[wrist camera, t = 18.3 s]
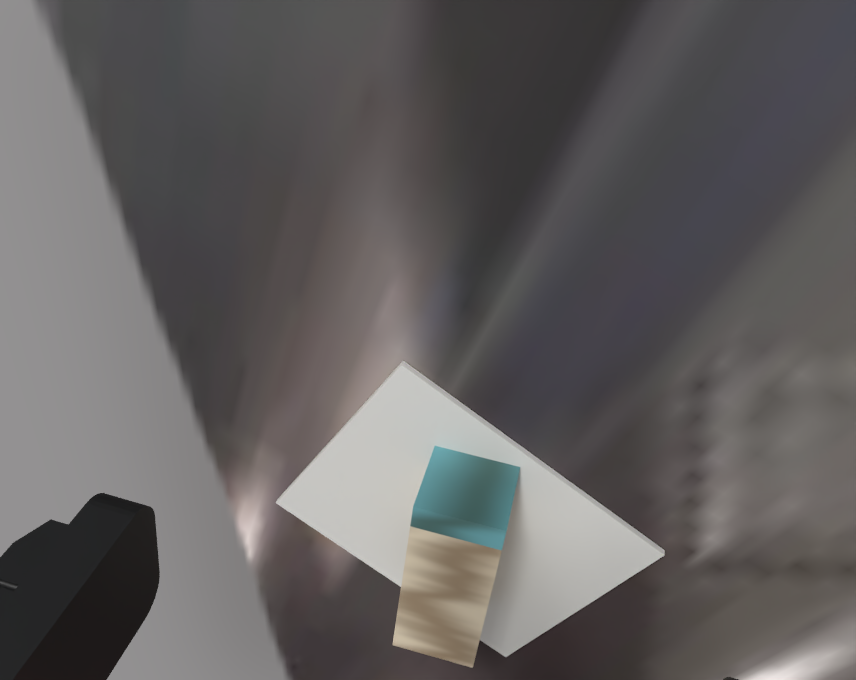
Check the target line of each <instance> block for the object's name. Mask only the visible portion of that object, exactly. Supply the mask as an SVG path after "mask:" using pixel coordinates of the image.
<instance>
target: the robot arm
mask: <svg viewBox="0 0 856 680" xmlns="http://www.w3.org/2000/svg"><path fill="white" fill-rule="evenodd" d="M158 584H159V561H158V549H157V537H156V524H155V514H154V511H153V509H152V508H151V507H149V506H146V505H142V504H139V503H135V502H132V501H129V500H125V499H122V498H118V497H115V496H111V495H108V494H104V493H100V494H97V495H95V496H93V497H92V498H91V499H90V500H89V501H88V502H87V503H86V504H85V505H84V507H83V508H82V509H81V510H80V512H79V513H78V514H77V515H76V516H75V518H74V519H73V520H72V521H71V522H70V524H69V525H68V524H64V523H61V522H57V521H54V520H49V521H48V522H46V523H44V524H43V525H41V526H40V527H38V528H37V529H35V530H33V531H32V532H30V533H28V534H27V535H25V536H24V537H22V538H20V539H19V540H17V541H15V542H14V543H13V544H12V545H11V546H10V547H9V548H8V549H7V551H6V552H5V553H4V554H3V555H2V556H1V557H0V680H106V679H107V678H108V676H109V675H110V673H111V672H112V670H113V669H114V667H115V665H116V664H117V662H118V660H119V659H120V657H121V656H122V654H123V653H124V651H125V650H126V648H127V647H128V645H129V643H130V642H131V640H132V639H133V637H134V636H135V634H136V632H137V631H138V629H139V628H140V626H141V624H142V623H143V621H144V620H145V618H146V616H147V615H148V613H149V611H150V609H151V606H152V604H153V601H154V599H155V596H156V592H157V589H158ZM723 680H738V679H734V678H731V677H726V678H725V679H723Z"/></svg>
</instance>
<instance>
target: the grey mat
mask: <svg viewBox="0 0 856 680" xmlns="http://www.w3.org/2000/svg"><path fill="white" fill-rule="evenodd" d="M434 446H438V447H442V448H446V449H450V450H454V451H458V452H462V453H466V454H470V455H474V456H478V457H482V458H486V459H490V460H494V461H498V462H502V463H506V464H510V465H514V466H518V467H520V471H519V475H518V480H517V485H516V490H515V494H514V499H513V504H512V508H511V513H510V518H509V522H508V527H507V532H506V536H505V540H504V544H503V548H502V552H501V556H500V560H499V564H498V568H497V572H496V576H495V580H494V584H493V588H492V592H491V596H490V600H489V604H488V608H487V612H486V616H485V620H484V624H483V628H482V632H481V636H480V640H481V641H482V642H484V643H485V644H487V645H488V646H490V647H491V648H493V649H494V650H496V651H497V652H499V653H500V654H502V655H503V656H505V657H507V656H508V655H510V654H512V653H513V652H515V651H516V650H518V649H519V648H521V647H523V646H524V645H526V644H527V643H529V642H530V641H532V640H533V639H535V638H537V637H538V636H540V635H541V634H543V633H544V632H546V631H547V630H549V629H551V628H552V627H554V626H555V625H557V624H558V623H560V622H561V621H563V620H565V619H566V618H568V617H569V616H571V615H572V614H574V613H576V612H577V611H579V610H580V609H582V608H583V607H585V606H586V605H588V604H590V603H591V602H593V601H594V600H596V599H597V598H599V597H600V596H602V595H604V594H605V593H607V592H608V591H610V590H611V589H613V588H615V587H616V586H618V585H619V584H621V583H622V582H624V581H625V580H627V579H629V578H630V577H632V576H633V575H635V574H636V573H638V572H639V571H641V570H643V569H644V568H646V567H647V566H649V565H650V564H652V563H653V562H655V561H657V560H658V559H660V558H661V557H663V556H664V555H665V550H664V549H662V548H661V547H659V546H658V545H657V544H655V543H654V542H653V541H651V540H650V539H648V538H647V537H646V536H644V535H643V534H642V533H640V532H639V531H637V530H636V529H635V528H633V527H632V526H630V525H629V524H628V523H626V522H625V521H624V520H622V519H621V518H619V517H618V516H617V515H615V514H614V513H613V512H611V511H610V510H608V509H607V508H606V507H604V506H603V505H602V504H600V503H599V502H597V501H596V500H595V499H593V498H592V497H591V496H589V495H588V494H586V493H585V492H584V491H582V490H581V489H579V488H578V487H577V486H575V485H574V484H573V483H571V482H570V481H568V480H567V479H566V478H564V477H563V476H562V475H560V474H559V473H557V472H556V471H555V470H553V469H552V468H551V467H549V466H548V465H546V464H545V463H544V462H542V461H541V460H540V459H538V458H537V457H535V456H534V455H533V454H531V453H530V452H528V451H527V450H526V449H524V448H523V447H522V446H520V445H519V444H517V443H516V442H515V441H513V440H512V439H511V438H509V437H508V436H506V435H505V434H504V433H502V432H501V431H500V430H498V429H497V428H495V427H494V426H493V425H491V424H490V423H489V422H487V421H486V420H484V419H483V418H482V417H480V416H479V415H477V414H476V413H475V412H473V411H472V410H471V409H469V408H468V407H466V406H465V405H464V404H462V403H461V402H460V401H458V400H457V399H455V398H454V397H453V396H451V395H450V394H449V393H447V392H446V391H444V390H443V389H442V388H440V387H439V386H438V385H436V384H435V383H433V382H432V381H431V380H429V379H428V378H426V377H425V376H424V375H422V374H421V373H420V372H418V371H417V370H415V369H414V368H413V367H411V366H410V365H409V364H407V363H406V362H404V361H402V362H401V363H400V364H399V365H398V367H397V368H396V369H395V370H394V371H393V372H392V373H391V374H390V375H389V376H388V378H387V379H386V380H385V381H384V382H383V383H382V384H381V385H380V386H379V388H378V389H377V390H376V391H375V392H374V393H373V394H372V395H371V396H370V397H369V399H368V400H367V401H366V402H365V403H364V404H363V405H362V406H361V407H360V409H359V410H358V411H357V412H356V413H355V414H354V415H353V416H352V417H351V418H350V420H349V421H348V422H347V423H346V424H345V425H344V426H343V427H342V428H341V430H340V431H339V432H338V433H337V434H336V435H335V436H334V437H333V438H332V439H331V441H330V442H329V443H328V444H327V445H326V446H325V447H324V448H323V449H322V451H321V452H320V453H319V454H318V455H317V456H316V457H315V458H314V459H313V460H312V462H311V463H310V464H309V465H308V466H307V467H306V468H305V469H304V470H303V471H302V473H301V474H300V475H299V476H298V477H297V478H296V479H295V480H294V481H293V483H292V484H291V485H290V486H289V487H288V488H287V489H286V490H285V491H284V492H283V494H282V495H281V496H280V497H279V498H278V499H277V501H276V503H277V504H278V505H280V506H281V507H283V508H284V509H286V510H287V511H289V512H290V513H292V514H293V515H295V516H296V517H298V518H299V519H300V520H302V521H303V522H305V523H306V524H308V525H309V526H311V527H312V528H314V529H315V530H317V531H318V532H320V533H321V534H323V535H324V536H326V537H327V538H329V539H330V540H332V541H333V542H335V543H336V544H338V545H339V546H341V547H342V548H344V549H345V550H347V551H348V552H350V553H351V554H353V555H354V556H356V557H357V558H359V559H360V560H362V561H363V562H365V563H366V564H368V565H369V566H370V567H372V568H373V569H375V570H376V571H378V572H379V573H381V574H382V575H384V576H385V577H387V578H388V579H390V580H391V581H393V582H394V583H396V584H397V585H399V586H400V587H401V585H402V578H403V571H404V565H405V558H406V551H407V545H408V538H409V531H410V524H411V518H412V511H413V506H414V503H415V500H416V497H417V494H418V492H419V489H420V486H421V483H422V480H423V477H424V475H425V472H426V469H427V466H428V463H429V461H430V458H431V455H432V452H433V449H434Z"/></svg>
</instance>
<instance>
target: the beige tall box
mask: <svg viewBox="0 0 856 680" xmlns="http://www.w3.org/2000/svg"><path fill="white" fill-rule="evenodd" d="M519 471H520V467H518V466H514V465H510V464H506V463H502V462H498V461H494V460H490V459H486V458H482V457H478V456H474V455H470V454H466V453H462V452H458V451H454V450H450V449H446V448H442V447H438V446H434V449H433V452H432V455H431V458H430V461H429V463H428V466H427V469H426V472H425V475H424V477H423V480H422V483H421V486H420V489H419V492H418V494H417V497H416V500H415V503H414V506H413V511H412V518H411V524H410V531H409V538H408V545H407V551H406V558H405V565H404V571H403V578H402V585H401V592H400V598H399V605H398V612H397V619H396V625H395V632H394V639H393V645H394V646H398V647H402V648H405V649H409V650H412V651H416V652H419V653H423V654H426V655H430V656H433V657H437V658H440V659H444V660H447V661H451V662H454V663H458V664H461V665H465V666H468V667H472V668H473V665H474V661H475V657H476V653H477V649H478V645H479V640H480V636H481V632H482V628H483V624H484V620H485V616H486V612H487V608H488V604H489V600H490V596H491V592H492V588H493V584H494V580H495V576H496V572H497V568H498V564H499V560H500V556H501V552H502V548H503V544H504V540H505V536H506V532H507V527H508V522H509V518H510V513H511V508H512V504H513V499H514V494H515V490H516V485H517V480H518V475H519Z"/></svg>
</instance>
